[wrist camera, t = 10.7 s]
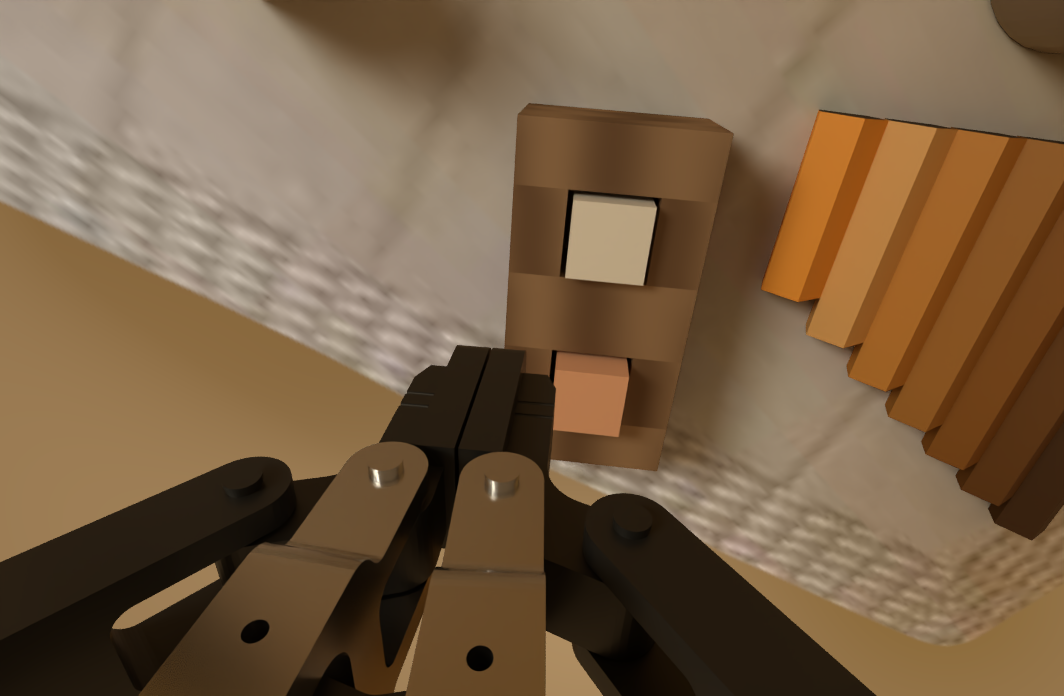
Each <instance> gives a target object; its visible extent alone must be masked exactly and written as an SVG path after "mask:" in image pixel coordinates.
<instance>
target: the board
mask: <svg viewBox="0 0 1064 696" xmlns="http://www.w3.org/2000/svg"><path fill="white" fill-rule="evenodd" d="M732 139H733V133H732V132H730V131H728V130H727V129H725V128H723V127H722V126H720V125H718V124H717V123H715V122H713V121H712V120H710V119H704V118H693V117H681V116H670V115H658V114H647V113H635V112H624V111H612V110H601V109H589V108H577V107H566V106H554V105H543V104H531V103H529V104H528V105H527V106H526V107H525V108H524V109H523V110H522V111H521V112H520V113H519V114H518V118H517V136H516V154H515V171H514V189H513V207H512V225H511V242H510V260H509V278H508V296H507V313H506V331H505V349H513V350H526V356H527V358H526V373H531V374H543V375H548V376H549V378H550V379H551V381H552V383H554V374H555V364H556V355H557V350H558V351H568V352H577V353H587V354H597V355H606V356H616V357H626V358H627V365H628V372H629V381H628V387H627V392H626V398H625V404H624V409H623V415H622V420H621V426H620V431H619V437H613V436H604V435H595V434H586V433H577V432H567V431H558V430H553V439H552V451H551V459H553V460H562V461H571V462H579V463H588V464H597V465H606V466H615V467H624V468H633V469H642V470H651V471H657V469H658V465H659V460H660V456H661V451H662V447H663V443H664V438H665V434H666V429H667V425H668V421H669V416H670V412H671V407H672V403H673V399H674V394H675V390H676V385H677V381H678V377H679V372H680V368H681V363H682V359H683V355H684V350H685V346H686V341H687V337H688V333H689V328H690V324H691V319H692V315H693V311H694V306H695V302H696V297H697V293H698V288H699V284H700V280H701V275H702V271H703V266H704V262H705V258H706V253H707V249H708V244H709V240H710V236H711V231H712V227H713V222H714V218H715V214H716V209H717V205H718V200H719V196H720V192H721V187H722V183H723V178H724V174H725V170H726V165H727V161H728V156H729V152H730V148H731V143H732ZM574 190H581V191H592V192H603V193H613V194H624V195H635V196H646V197H652V198H653V200H654V203H655V205H656V207H657V210H656V216H655V221H654V227H653V233H652V238H651V244H650V249H649V255H648V261H647V266H646V272H645V278H644V283H643V286H640V285H630V284H620V283H610V282H600V281H590V280H580V279H569V278H565V274H566V263H567V252H568V241H569V232H570V222H571V213H572V204H573V194H574Z"/></svg>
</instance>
